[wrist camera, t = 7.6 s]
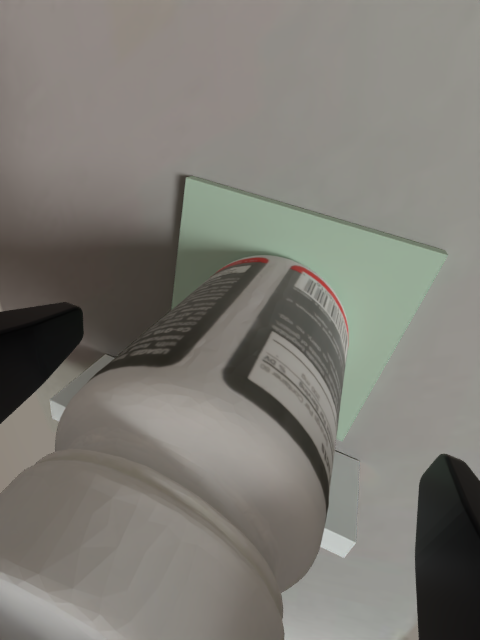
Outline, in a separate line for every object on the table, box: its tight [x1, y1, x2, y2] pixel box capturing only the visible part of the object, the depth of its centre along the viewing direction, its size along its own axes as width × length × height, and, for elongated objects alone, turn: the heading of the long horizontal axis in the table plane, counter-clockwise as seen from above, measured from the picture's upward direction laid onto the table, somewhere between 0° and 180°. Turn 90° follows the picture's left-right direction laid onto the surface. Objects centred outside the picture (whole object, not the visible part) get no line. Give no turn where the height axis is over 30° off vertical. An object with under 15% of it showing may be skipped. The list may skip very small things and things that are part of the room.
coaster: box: [171, 176, 448, 441], centre depth 11 cm, size 7×7×1 cm
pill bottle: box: [0, 255, 349, 640], centre depth 7 cm, size 5×5×8 cm
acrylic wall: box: [50, 354, 360, 558], centre depth 13 cm, size 1×11×3 cm, turn 79°
